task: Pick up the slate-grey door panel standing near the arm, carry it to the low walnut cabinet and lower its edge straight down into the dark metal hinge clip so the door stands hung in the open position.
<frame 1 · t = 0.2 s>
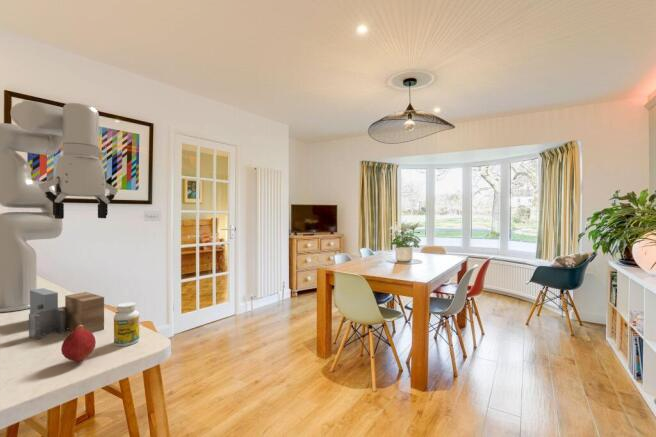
hand: (81, 218, 84), 31 cm above the table, tool pointing down, fingers open, 9 cm apart
hinge clip: (47, 334, 84), on the table
supplement bottle: (126, 343, 80), on the table
cabinet: (84, 328, 89), on the table
door: (43, 322, 93), on the table
onion: (79, 362, 69), on the table
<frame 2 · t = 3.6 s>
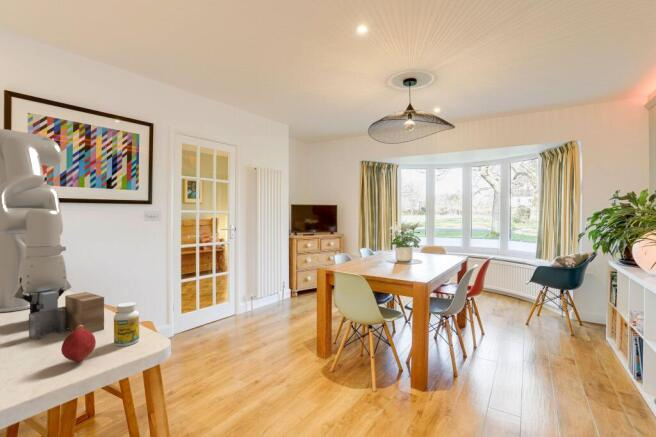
hand: (43, 314, 93), 2 cm above the table, tool pointing down, fingers closed on door, 3 cm apart
door: (43, 321, 93), on the table, touching gripper
everything else where it was.
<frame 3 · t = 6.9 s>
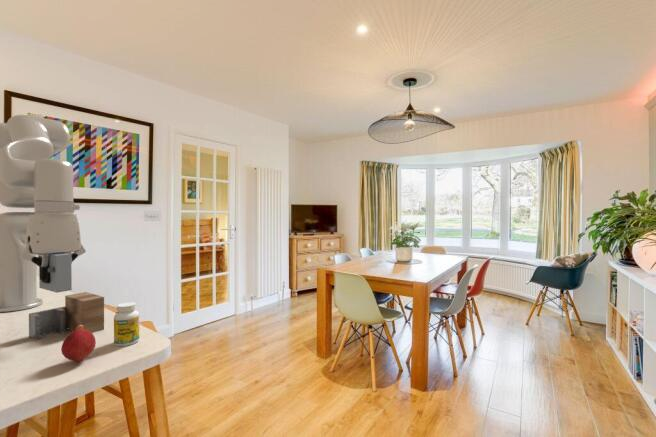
hand: (55, 280, 81), 15 cm above the table, tool pointing down, fingers closed on door, 3 cm apart
door: (55, 288, 81), point 13 cm above the table, touching gripper
everything else where it was.
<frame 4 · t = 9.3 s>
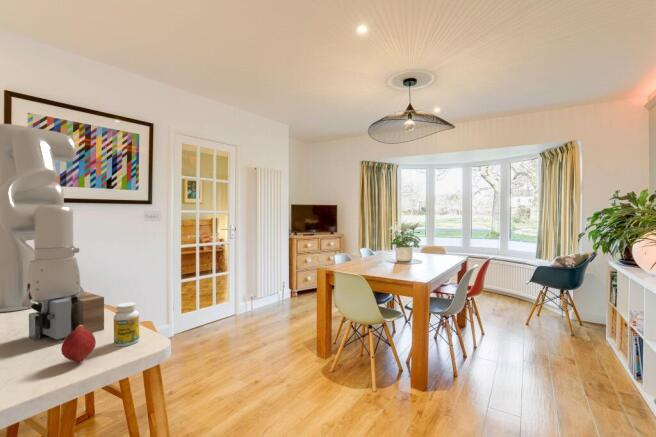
hand: (54, 325, 82), 3 cm above the table, tool pointing down, fingers closed on door, 3 cm apart
door: (54, 333, 82), point 1 cm above the table, touching gripper
everything else where it was.
when the fingers open (3 cm above the table, at t = 10.4 s): door drops 1 cm, on the table.
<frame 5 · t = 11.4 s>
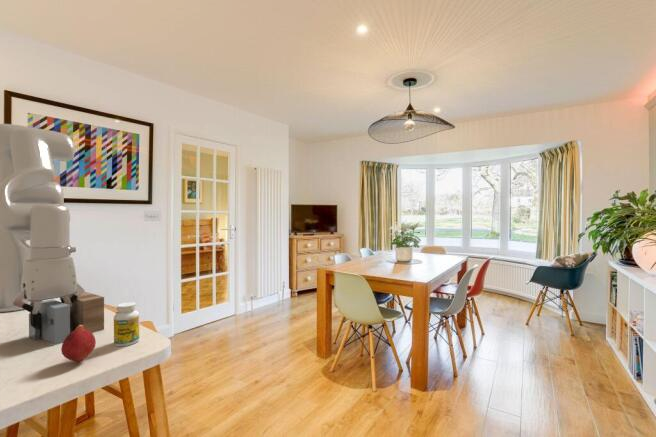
hand: (50, 324, 81), 4 cm above the table, tool pointing down, fingers open, 4 cm apart
door: (54, 338, 82), on the table
everything else where it was.
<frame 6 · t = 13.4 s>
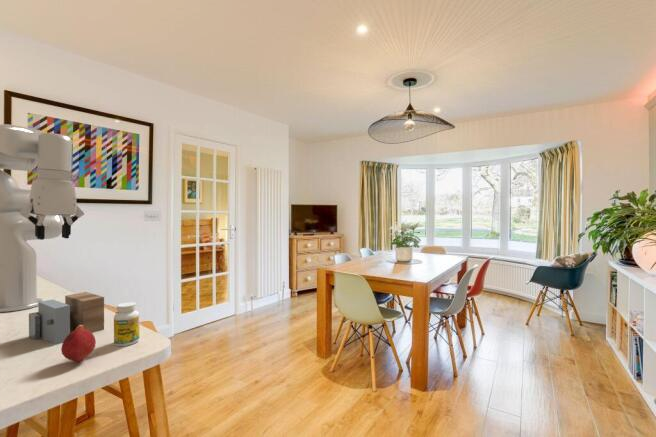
hand: (53, 237, 95), 24 cm above the table, tool pointing down, fingers open, 5 cm apart
nothing on the table moved.
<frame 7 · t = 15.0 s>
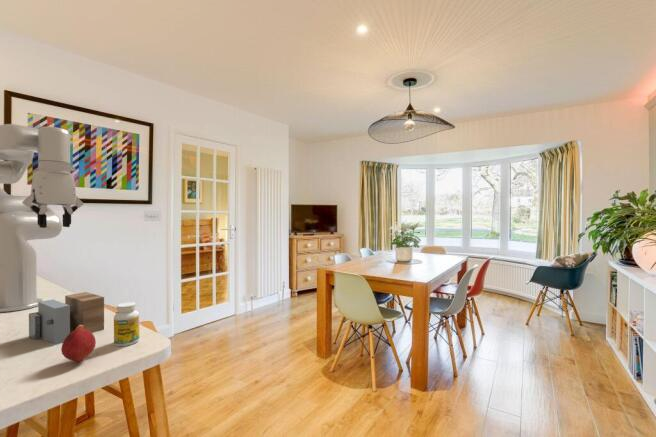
hand: (54, 226, 99), 27 cm above the table, tool pointing down, fingers open, 5 cm apart
nothing on the table moved.
at the end: door 0.3 cm from the target spot, on the table; door tilted 0°; the gripper is holding nothing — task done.
